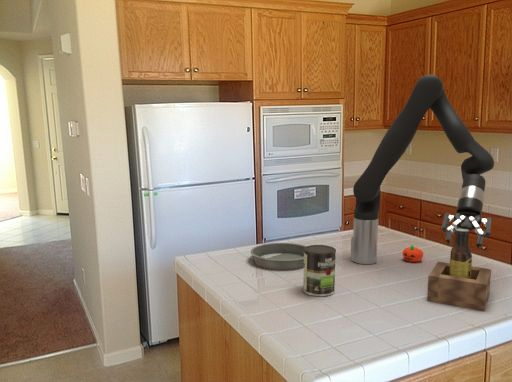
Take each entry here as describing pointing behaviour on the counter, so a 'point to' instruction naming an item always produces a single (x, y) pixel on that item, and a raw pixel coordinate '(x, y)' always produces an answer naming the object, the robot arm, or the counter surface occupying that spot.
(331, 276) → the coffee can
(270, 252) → the cake pan
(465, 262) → the sauce bottle
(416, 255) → the pumpkin
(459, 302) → the bottle block
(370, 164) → the robot arm
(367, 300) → the counter surface
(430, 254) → the counter surface
